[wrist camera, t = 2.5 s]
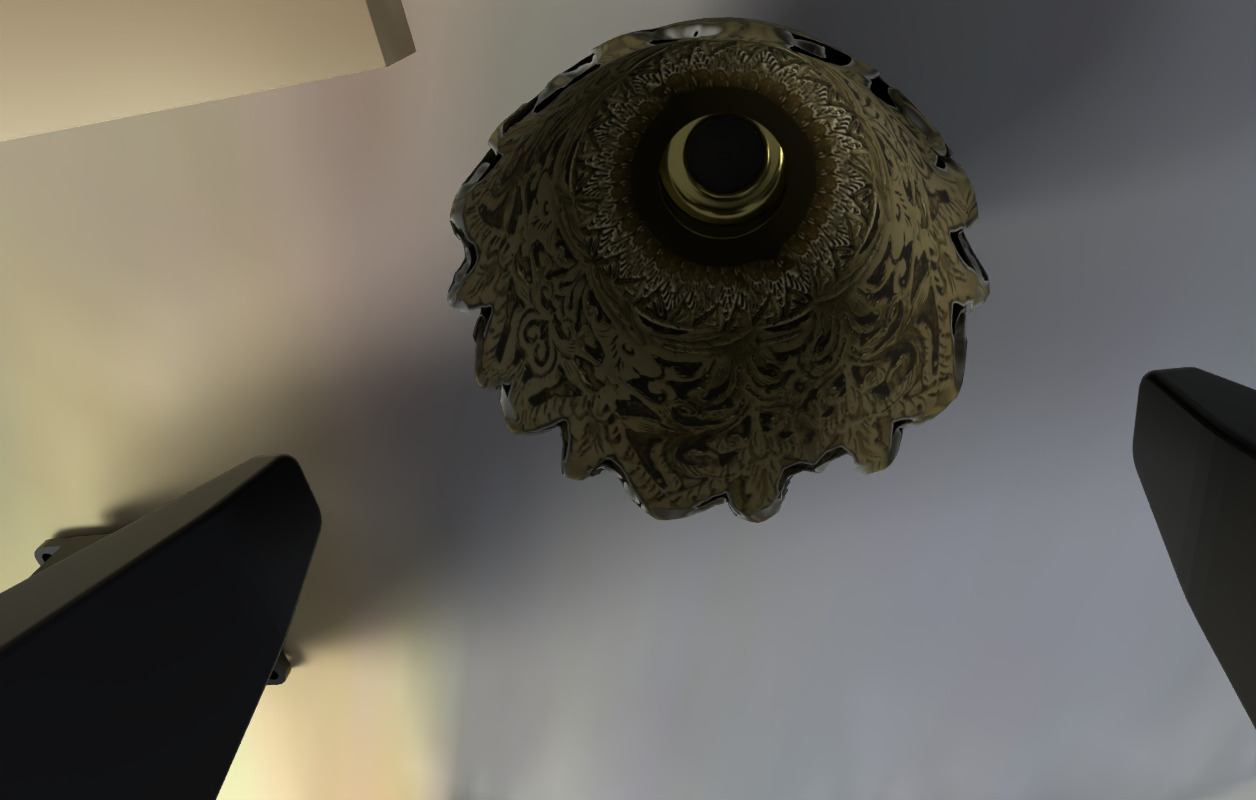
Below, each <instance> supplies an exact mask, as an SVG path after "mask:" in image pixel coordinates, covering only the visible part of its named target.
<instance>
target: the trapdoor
mask: <svg viewBox="0 0 1256 800" xmlns="http://www.w3.org/2000/svg"><path fill="white" fill-rule="evenodd" d="M414 52H416V49H415V46H414V43H413V39H412V36H411V32H410V29H409V26H408V22H407V19H406V16H405V12H404V9H403V5H402V2H401V0H0V142H1V141H6V140H11V139H16V138H22V137H27V136H32V135H37V134H42V133H48V132H53V131H58V130H63V129H68V128H73V127H79V126H84V125H89V124H94V123H99V122H105V121H110V120H115V119H120V118H125V117H131V116H136V115H141V114H146V113H151V112H157V111H162V110H167V109H172V108H177V107H182V106H188V105H193V104H198V103H203V102H208V101H214V100H219V99H224V98H229V97H234V96H240V95H245V94H250V93H255V92H260V91H265V90H271V89H276V88H281V87H286V86H291V85H297V84H302V83H307V82H312V81H317V80H323V79H328V78H333V77H338V76H343V75H349V74H354V73H359V72H364V71H369V70H374V69H380V68H385V67H388V66H390V65H391V64H393V63H395V62H397V61H399V60H401V59H403V58H405V57H407V56H409V55H410V54H412V53H414Z"/></svg>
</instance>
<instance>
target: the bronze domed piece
mask: <svg viewBox="0 0 1256 800" xmlns="http://www.w3.org/2000/svg"><path fill="white" fill-rule="evenodd" d="M592 53H593V54H591V55H590V56H588V57H586V58H584V59H583V60H581V61H580V62H578V63H577V64H576V65H574V66H573V67H571V68H570V69H568V70H566V71H565V72H563V73H562V74H559V75H558V76H556V77H555V78H554V79H552V80H551V81H550V82H549V83H548V85H547V86H546V87H545V89H544V90H543V91H542V92H541V93H540V94H538V95H537V96H536V97H535V98H534V99H532V100H531V101H530V102H528V103H525V104H523V105H522V106H521V107H519V108H518V109H517V110H516V111H515V112H514V113H513V114H512V115H510V116H509V117H508V118H506V119H505V120H504V121H503V122H502V123H501V124H500V125H499V126H498V127H497V129H496V130H495V131H494V133H493V134H492V136H491V137H490V139H489V141H488V145H489V146H490V147H491V149H490V150H489V151H488V153H487V154H486V156H485V157H484V158H483V159H482V161H481V162H480V163H479V164H478V166H477V167H476V168H475V169H474V171H473V172H472V173H471V175H470V176H469V177H468V178H467V180H466V181H465V182H464V183H463V184H462V186H461V188H460V189H459V191H458V193H457V194H456V197H455V199H454V202H453V205H452V209H451V214H450V222H451V226H452V228H453V231H454V234H455V235H456V236H457V238H458V239H460V240H461V241H462V243H463V245H464V249H465V259H464V261H463V263H462V265H461V266H460V268H459V269H458V270H457V271H456V272H455V274H454V278H453V282H452V284H451V286H450V289H449V291H448V303H449V305H450V306H452V307H453V308H454V309H458V310H459V311H461V312H466V313H467V312H469V311H471V310H475V309H478V308H481V313H480V316H479V318H478V319H477V322H476V325H475V328H474V332H473V338H474V340H475V343H476V350H475V363H474V367H475V377H476V381H477V382H478V384H479V385H480V386H481V387H482V388H484V389H486V390H489V389H491V388H494V387H495V388H496V390H497V391H498V390H499V389H500V388H501V387H502V390H501V397H500V402H501V405H502V408H503V412H504V415H505V422H506V425H507V427H508V428H509V430H510V431H511V432H512V433H514V434H517V435H520V436H529V435H535V434H541V433H545V432H548V431H550V430H552V429H553V428H557V427H555V426H559V427H560V428H561V435H560V436H561V437H562V442H563V448H562V474H563V475H564V476H566V477H568V478H570V479H574V480H583V479H585V478H587V477H590V476H594V475H597V474H600V472H601V471H602V470H605V469H602V468H601V469H597V468H599V467H600V466H606V467H604V468H606V469H607V470H608V471H610V472H611V473H613V474H614V475H616V476H617V477H618V478H619V479H620V481H621V482H622V484H623V487H624V489H625V491H626V492H627V494H628V495H629V497H630V498H631V499H632V500H633V501H634V502H635V503H636V504H637V505H638V506H639V507H640V508H641V509H643V510H644V511H645V512H647V513H648V514H649V515H651V516H652V517H654V518H655V519H658V520H671V519H679V518H684V517H689V516H691V515H693V514H696V513H698V512H702V511H705V510H707V509H709V508H711V507H713V506H715V505H719V504H723V503H725V502H728V505H729V507H730V509H731V510H732V512H733V513H734V514H735V516H737V517H739V518H741V519H744V520H747V521H751V522H756V523H759V522H763V521H765V520H767V519H769V518H770V517H772V516H773V515H775V514H776V513H777V512H778V511H779V510H780V506H781V503H782V501H783V500H784V498H785V497H784V496H785V495H786V493H787V491H788V489H787V486H788V484H789V483H790V479H791V478H792V477H793V476H792V475H794V474H797V473H799V472H802V471H810V472H815V473H821V472H823V471H824V470H825V468H826V467H827V465H828V464H829V463H830V462H831V461H832V460H835V459H836V458H839V457H841V456H843V455H845V454H849V455H850V456H852V457H853V459H854V463H856V464H857V465H859V466H860V467H858V468H856V469H855V470H857V471H859V472H861V473H863V474H870V473H873V472H876V471H880V470H884V469H886V468H887V467H888V466H889V465H890V464H891V463H892V462H893V460H894V459H895V457H896V455H897V453H898V450H899V446H900V442H901V438H902V433H903V431H902V430H903V428H905V427H908V426H912V425H913V426H914V425H915V426H916V425H921V424H924V423H926V422H928V421H929V420H931V419H933V418H934V417H935V416H937V415H938V414H939V413H940V412H942V411H943V410H944V409H945V408H946V407H947V406H948V405H949V404H950V403H951V402H952V401H953V400H954V399H955V398H956V397H957V395H958V393H959V391H960V388H961V385H962V381H963V376H964V369H965V360H966V349H967V338H966V305H967V303H972V304H971V308H972V309H970V311H969V312H968V313H967V315H968V314H969V313H970V312H971V311H972V310H973V309H974V308H975V307H976V306H978V305H980V304H982V303H984V302H985V300H986V298H987V297H988V295H989V279H988V276H987V274H986V272H985V270H984V268H983V267H982V265H981V263H980V262H979V260H978V259H977V257H976V256H975V254H974V252H973V250H972V249H971V247H970V245H969V242H968V240H967V239H966V236H965V234H964V230H967V229H969V228H971V227H972V226H973V225H974V224H975V223H976V222H978V207H977V202H976V197H975V193H974V191H973V188H972V186H971V184H970V182H969V179H968V177H967V176H966V174H965V172H964V170H963V168H962V166H961V165H959V164H957V163H956V162H955V161H953V160H952V159H951V158H950V156H951V154H952V152H951V151H950V149H949V148H948V147H947V145H946V144H945V142H944V140H943V138H942V137H941V135H940V134H939V132H938V131H937V130H936V129H935V128H934V127H933V126H932V125H931V124H930V123H929V122H928V121H927V119H926V118H925V117H924V116H923V115H922V114H921V113H920V112H919V111H918V110H917V109H916V108H915V106H914V105H913V104H912V103H911V102H910V101H909V100H908V99H907V98H906V97H905V96H904V95H903V94H902V93H901V92H900V91H898V90H897V89H895V88H892V87H890V86H889V85H888V84H886V83H885V82H884V81H883V80H882V79H881V77H880V76H879V74H880V72H878V71H877V70H875V69H874V68H872V67H871V66H869V65H867V64H865V63H864V62H862V61H860V60H858V59H856V58H855V57H853V56H851V55H849V54H847V53H845V52H842V51H840V50H838V49H836V48H834V47H831V46H829V45H827V44H825V43H823V42H821V41H819V40H817V39H815V38H813V37H811V36H809V35H806V34H804V33H801V32H798V31H796V30H793V29H790V28H787V27H784V26H781V25H778V24H773V23H768V22H764V21H759V20H753V19H742V18H731V17H727V18H703V19H697V20H690V21H683V22H678V23H674V24H670V25H667V26H663V27H659V28H656V29H651V30H641V31H636V32H631V33H628V34H624V35H621V36H618V37H616V38H613V39H611V40H609V41H607V42H605V43H603V44H601V45H600V46H598V47H596V48H594V49H593V50H592ZM723 117H729V118H735V119H739V120H741V121H743V122H745V123H747V124H748V125H750V126H751V127H752V128H753V129H754V130H755V131H756V133H757V134H758V136H759V138H760V140H761V142H762V146H763V153H764V155H763V163H762V167H761V169H760V172H759V173H758V175H757V177H756V178H755V179H754V180H753V181H752V182H751V183H750V184H749V185H748V186H746V187H745V188H743V189H741V190H739V191H736V192H732V193H718V192H714V191H711V190H708V189H706V188H705V187H703V186H702V185H701V184H699V183H698V182H697V180H696V179H695V178H694V176H693V175H692V173H691V171H690V168H689V165H688V159H687V154H688V147H689V144H690V141H691V139H692V137H693V135H694V134H695V133H696V131H697V130H698V129H699V128H700V127H701V126H703V125H704V124H706V123H707V122H709V121H711V120H714V119H717V118H723ZM468 310H469V311H468ZM467 314H470V312H469V313H467ZM596 469H597V470H596ZM790 476H791V477H790ZM788 477H790V478H789V479H788V480H787V478H788ZM786 480H787V481H786ZM785 482H786V483H785ZM784 484H785V486H784ZM783 487H784V489H783ZM782 489H783V491H782ZM781 492H782V500H781Z"/></svg>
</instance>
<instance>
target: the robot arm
mask: <svg viewBox="0 0 1256 800" xmlns="http://www.w3.org/2000/svg"><path fill="white" fill-rule="evenodd" d="M1133 458H1134V463H1135V467H1136V470H1137V473H1138V476H1139V478H1140V481H1141V484H1142V486H1143V489H1144V491H1145V494H1146V497H1147V499H1148V502H1149V504H1150V507H1151V510H1152V512H1153V515H1154V518H1155V520H1156V523H1157V525H1158V528H1159V531H1160V533H1161V536H1162V538H1163V541H1164V544H1165V546H1166V549H1167V552H1168V554H1169V557H1170V559H1171V562H1172V565H1173V567H1174V570H1175V573H1176V575H1177V578H1178V580H1179V583H1180V585H1181V587H1182V590H1183V592H1184V595H1185V597H1186V599H1187V601H1188V603H1189V605H1190V607H1191V609H1192V611H1193V613H1194V615H1195V617H1196V619H1197V621H1198V623H1199V625H1200V627H1201V629H1202V631H1203V633H1204V634H1205V636H1206V638H1207V640H1208V642H1209V644H1210V645H1211V647H1212V649H1213V651H1214V653H1215V655H1216V657H1217V658H1218V660H1219V662H1220V664H1221V666H1222V668H1223V670H1224V671H1225V673H1226V675H1227V677H1228V679H1229V681H1230V683H1231V684H1232V686H1233V688H1234V690H1235V692H1236V694H1237V696H1238V697H1239V699H1240V701H1241V703H1242V705H1243V707H1244V709H1245V710H1246V712H1247V714H1248V716H1249V718H1250V720H1251V721H1252V723H1253V725H1254V727H1255V729H1256V390H1255V389H1252V388H1249V387H1247V386H1244V385H1241V384H1239V383H1236V382H1233V381H1230V380H1228V379H1225V378H1222V377H1220V376H1217V375H1214V374H1212V373H1209V372H1206V371H1204V370H1201V369H1198V368H1195V367H1182V368H1172V369H1162V370H1153V371H1150V372H1148V373H1146V374H1145V375H1144V376H1143V378H1142V380H1141V383H1140V386H1139V393H1138V402H1137V410H1136V419H1135V428H1134V436H1133ZM321 523H322V520H321V512H320V509H319V506H318V504H317V502H316V500H315V497H314V495H313V493H312V491H311V489H310V486H309V484H308V482H307V480H306V478H305V476H304V473H303V471H302V469H301V467H300V465H299V463H298V461H297V460H296V459H295V458H294V457H292V456H290V455H288V454H274V455H263V456H257V457H254V458H252V459H250V460H248V461H246V462H244V463H242V464H240V465H239V466H237V467H235V468H233V469H231V470H229V471H227V472H226V473H224V474H222V475H220V476H218V477H216V478H214V479H212V480H211V481H209V482H207V483H205V484H203V485H201V486H199V487H198V488H196V489H194V490H192V491H190V492H188V493H186V494H185V495H183V496H181V497H179V498H177V499H175V500H173V501H171V502H170V503H168V504H166V505H164V506H162V507H160V508H158V509H157V510H155V511H153V512H151V513H149V514H147V515H145V516H144V517H142V518H140V519H138V520H136V521H134V522H132V523H131V524H129V525H127V526H125V527H123V528H121V529H119V530H117V531H116V532H114V533H112V534H102V535H89V536H76V537H71V538H59V539H49V540H46V541H45V542H44V543H43V544H42V545H41V546H40V547H39V548H37V550H36V551H35V558H36V560H37V562H38V563H39V564H40V567H39V568H38V569H37V570H36V571H35V572H34V573H33V574H32V575H31V576H30V577H29V578H28V579H26V580H24V581H22V582H21V583H19V584H17V585H15V586H13V587H11V588H9V589H8V590H6V591H4V592H2V593H0V800H216V798H217V796H218V794H219V791H220V789H221V787H222V785H223V782H224V780H225V778H226V775H227V773H228V771H229V769H230V766H231V764H232V762H233V760H234V757H235V755H236V753H237V750H238V748H239V746H240V744H241V741H242V739H243V737H244V734H245V732H246V730H247V728H248V725H249V723H250V721H251V718H252V716H253V714H254V712H255V709H256V707H257V705H258V702H259V700H260V698H261V696H262V693H263V691H264V689H265V686H266V685H278V684H282V683H283V682H285V680H286V679H287V677H288V675H289V674H290V671H291V666H290V663H289V662H288V660H287V658H286V656H285V654H284V652H283V651H282V647H283V644H284V642H285V639H286V636H287V633H288V630H289V627H290V625H291V622H292V619H293V615H294V612H295V609H296V606H297V603H298V600H299V597H300V594H301V590H302V587H303V584H304V581H305V578H306V575H307V572H308V569H309V565H310V562H311V559H312V556H313V553H314V550H315V547H316V544H317V540H318V537H319V534H320V531H321Z"/></svg>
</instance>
